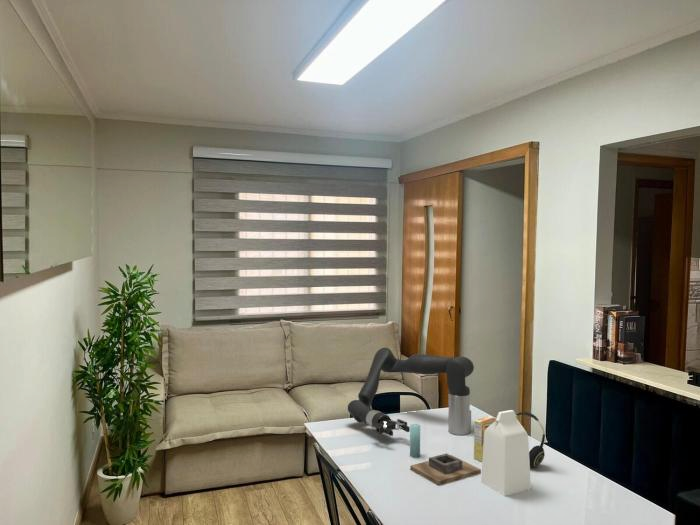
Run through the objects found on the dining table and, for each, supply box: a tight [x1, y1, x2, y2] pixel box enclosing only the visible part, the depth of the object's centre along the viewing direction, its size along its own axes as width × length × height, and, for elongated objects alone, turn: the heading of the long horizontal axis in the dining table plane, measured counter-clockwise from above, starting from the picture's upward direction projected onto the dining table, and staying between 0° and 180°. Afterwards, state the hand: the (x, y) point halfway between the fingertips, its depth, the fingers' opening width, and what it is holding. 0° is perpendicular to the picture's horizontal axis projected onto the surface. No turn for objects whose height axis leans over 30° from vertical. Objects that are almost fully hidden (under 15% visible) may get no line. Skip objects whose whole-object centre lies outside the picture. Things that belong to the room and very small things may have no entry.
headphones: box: [515, 411, 546, 468], centre depth 212 cm, size 9×15×20 cm, turn 39°
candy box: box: [473, 416, 496, 463], centre depth 218 cm, size 9×4×15 cm, turn 129°
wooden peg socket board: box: [409, 453, 482, 486], centre depth 205 cm, size 20×16×4 cm
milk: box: [480, 409, 532, 497], centre depth 193 cm, size 12×12×26 cm
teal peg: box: [409, 423, 421, 458], centre depth 220 cm, size 4×4×12 cm
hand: (400, 431), depth 229 cm, fingers open, 8 cm apart
